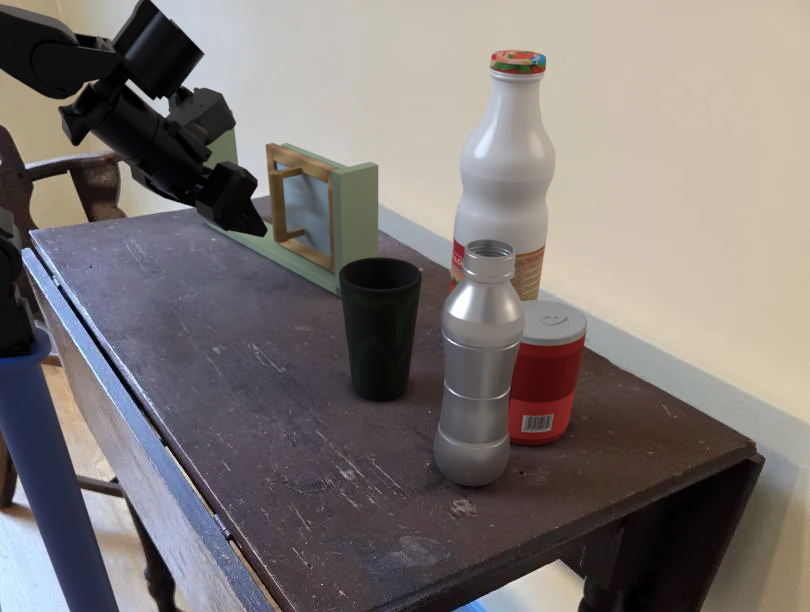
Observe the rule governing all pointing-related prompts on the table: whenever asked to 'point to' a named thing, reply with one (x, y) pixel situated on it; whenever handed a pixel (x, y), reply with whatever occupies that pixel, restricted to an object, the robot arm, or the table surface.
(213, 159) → the window frame
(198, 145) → the robot arm
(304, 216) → the sash
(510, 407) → the canned food
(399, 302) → the cup
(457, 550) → the table surface
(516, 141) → the fruit juice
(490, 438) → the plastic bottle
